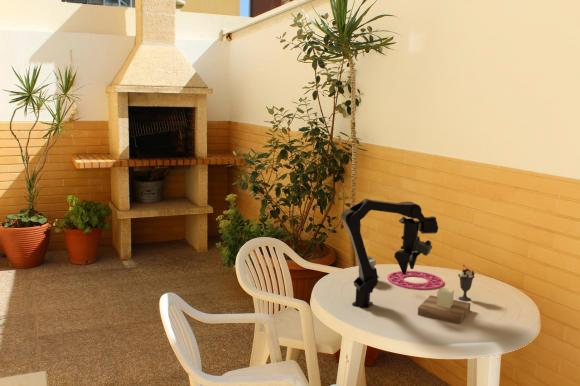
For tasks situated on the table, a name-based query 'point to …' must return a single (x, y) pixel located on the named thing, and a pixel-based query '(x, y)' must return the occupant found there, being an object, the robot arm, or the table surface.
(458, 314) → the walnut base
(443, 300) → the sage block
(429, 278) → the trivet
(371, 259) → the food container
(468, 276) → the sundae
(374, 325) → the table surface
